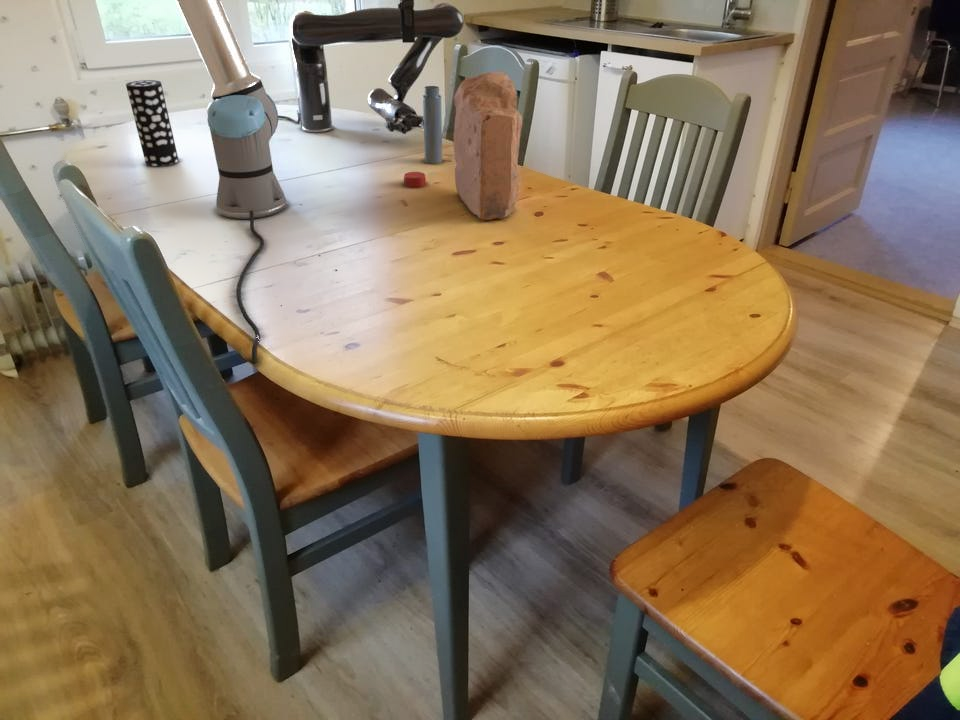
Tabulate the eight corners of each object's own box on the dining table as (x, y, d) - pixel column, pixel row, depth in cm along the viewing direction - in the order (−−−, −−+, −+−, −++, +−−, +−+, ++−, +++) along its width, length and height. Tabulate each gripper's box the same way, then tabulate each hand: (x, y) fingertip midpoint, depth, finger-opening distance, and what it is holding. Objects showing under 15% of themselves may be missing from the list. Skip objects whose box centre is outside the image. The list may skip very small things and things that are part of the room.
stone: (529, 217, 153) (533, 83, 139) (481, 223, 150) (480, 86, 136) (496, 190, 171) (497, 69, 157) (453, 195, 168) (450, 71, 154)
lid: (401, 182, 175) (401, 172, 173) (421, 180, 176) (421, 170, 175) (407, 188, 170) (407, 179, 169) (428, 186, 172) (428, 176, 171)
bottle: (445, 161, 190) (444, 87, 180) (434, 165, 187) (432, 90, 177) (432, 157, 193) (430, 84, 182) (421, 161, 189) (418, 87, 179)
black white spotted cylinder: (184, 157, 190) (167, 80, 179) (169, 166, 183) (151, 87, 172) (155, 156, 190) (136, 79, 179) (139, 165, 183) (119, 86, 172)
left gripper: (424, -73, 134) (427, 46, 145) (418, -74, 154) (421, 30, 166) (385, -73, 133) (391, 46, 144) (384, -75, 154) (390, 30, 165)
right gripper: (377, 104, 202) (394, 117, 190) (422, 100, 207) (442, 112, 195) (378, 130, 206) (396, 144, 194) (423, 126, 211) (443, 139, 199)
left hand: (407, 38), depth 155 cm, fingers open, 13 cm apart
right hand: (419, 128), depth 194 cm, fingers open, 8 cm apart
